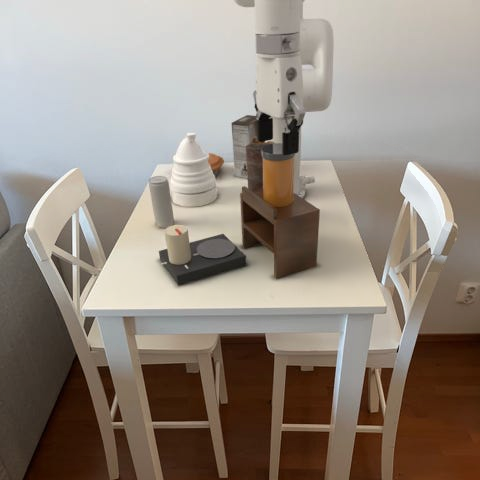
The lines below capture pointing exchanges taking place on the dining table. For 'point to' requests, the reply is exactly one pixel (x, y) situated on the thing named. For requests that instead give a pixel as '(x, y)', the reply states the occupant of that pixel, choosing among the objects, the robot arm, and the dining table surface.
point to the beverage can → (161, 201)
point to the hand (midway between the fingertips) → (277, 146)
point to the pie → (215, 163)
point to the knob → (178, 244)
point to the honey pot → (192, 175)
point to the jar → (277, 175)
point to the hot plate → (202, 263)
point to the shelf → (281, 230)
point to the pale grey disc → (216, 248)
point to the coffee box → (243, 142)
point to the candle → (255, 164)
